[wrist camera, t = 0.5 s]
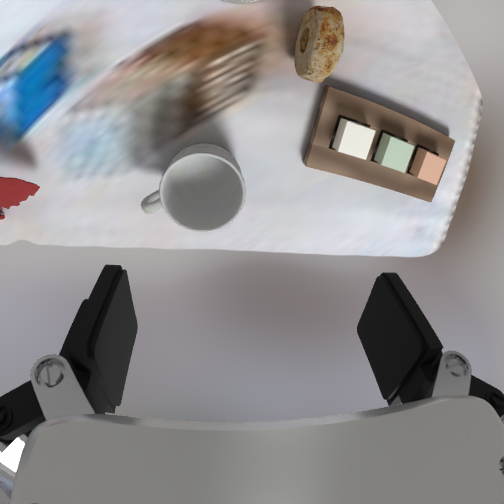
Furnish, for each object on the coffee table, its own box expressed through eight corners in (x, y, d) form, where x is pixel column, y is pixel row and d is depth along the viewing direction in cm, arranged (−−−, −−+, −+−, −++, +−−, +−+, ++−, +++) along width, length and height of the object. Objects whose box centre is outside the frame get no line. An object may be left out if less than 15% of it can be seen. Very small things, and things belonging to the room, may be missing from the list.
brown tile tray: (325, 85, 37) (329, 86, 36) (449, 137, 41) (455, 140, 40) (303, 162, 43) (305, 166, 42) (425, 198, 48) (430, 202, 46)
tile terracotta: (418, 147, 40) (427, 151, 38) (437, 155, 41) (446, 160, 39) (409, 171, 43) (417, 177, 41) (428, 179, 43) (436, 185, 41)
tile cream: (341, 118, 38) (347, 121, 36) (368, 127, 39) (375, 130, 37) (332, 146, 40) (337, 151, 38) (359, 154, 41) (365, 160, 39)
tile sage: (383, 132, 39) (391, 136, 37) (406, 141, 40) (414, 146, 38) (373, 159, 41) (381, 164, 39) (396, 167, 42) (404, 173, 40)
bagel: (297, 10, 31) (317, -6, 22) (324, 15, 31) (350, 2, 23) (288, 77, 36) (305, 80, 28) (314, 82, 37) (338, 86, 28)
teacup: (240, 135, 41) (243, 148, 34) (245, 204, 47) (248, 230, 40) (143, 146, 40) (126, 162, 33) (155, 213, 46) (144, 239, 39)
